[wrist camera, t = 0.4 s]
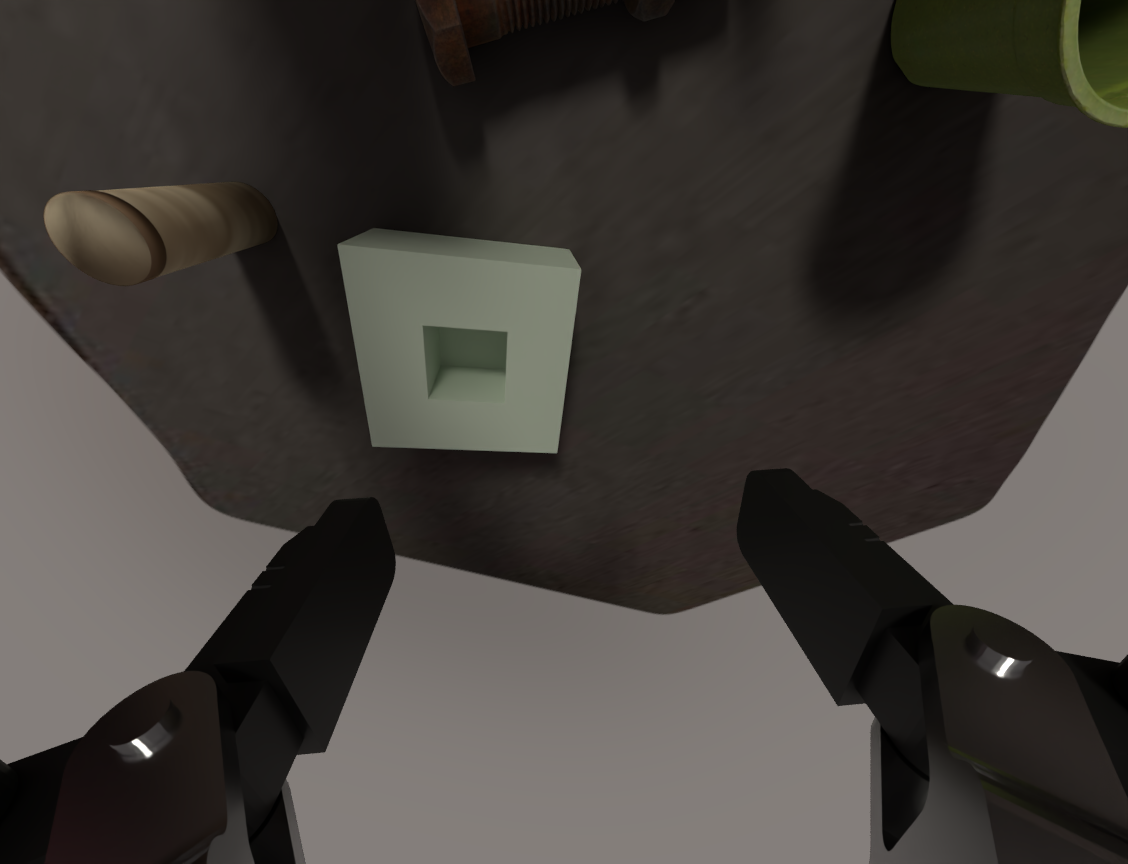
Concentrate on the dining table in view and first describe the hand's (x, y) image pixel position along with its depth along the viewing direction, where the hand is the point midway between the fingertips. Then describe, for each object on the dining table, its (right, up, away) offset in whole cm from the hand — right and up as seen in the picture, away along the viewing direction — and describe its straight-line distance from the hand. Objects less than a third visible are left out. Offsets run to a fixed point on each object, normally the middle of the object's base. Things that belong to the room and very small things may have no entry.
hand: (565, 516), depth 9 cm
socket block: (-6, +9, +20) cm, 23 cm away
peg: (-18, +15, +15) cm, 28 cm away
